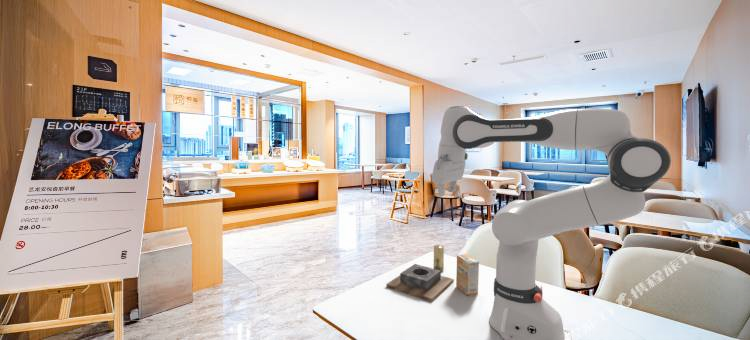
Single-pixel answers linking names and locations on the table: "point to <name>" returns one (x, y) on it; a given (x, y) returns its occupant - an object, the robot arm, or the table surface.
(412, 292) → the socket board
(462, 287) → the supplement box
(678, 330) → the table surface
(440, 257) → the brass plug
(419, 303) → the table surface
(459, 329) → the table surface
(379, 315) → the table surface
